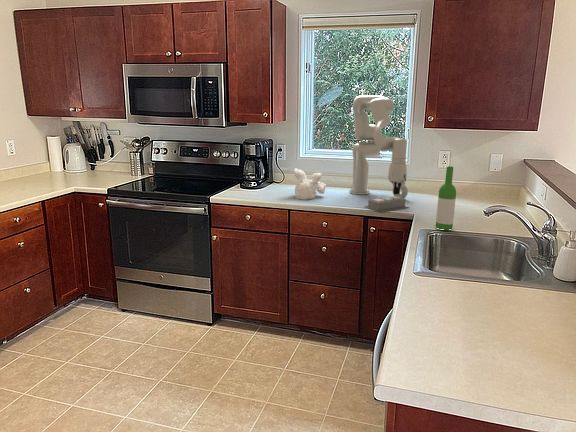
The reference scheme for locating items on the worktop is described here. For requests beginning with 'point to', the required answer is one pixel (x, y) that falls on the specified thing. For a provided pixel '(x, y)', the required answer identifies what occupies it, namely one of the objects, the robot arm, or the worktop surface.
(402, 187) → the donut
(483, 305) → the worktop surface
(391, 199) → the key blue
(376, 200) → the key ivory
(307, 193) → the cream lumpy figurine
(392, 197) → the key sage
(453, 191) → the wine bottle
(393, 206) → the keypad
